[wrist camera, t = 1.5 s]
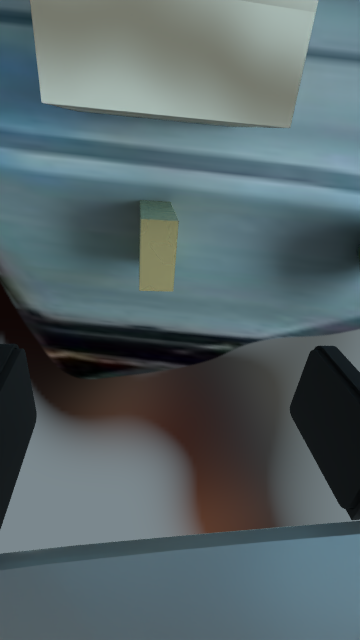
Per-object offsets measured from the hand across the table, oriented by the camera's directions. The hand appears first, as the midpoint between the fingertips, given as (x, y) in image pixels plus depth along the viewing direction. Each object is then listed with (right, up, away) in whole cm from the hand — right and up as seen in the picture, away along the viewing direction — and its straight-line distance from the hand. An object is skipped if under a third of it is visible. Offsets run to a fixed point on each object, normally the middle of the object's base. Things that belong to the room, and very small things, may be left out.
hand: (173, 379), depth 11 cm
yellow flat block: (-2, +9, +16) cm, 19 cm away
